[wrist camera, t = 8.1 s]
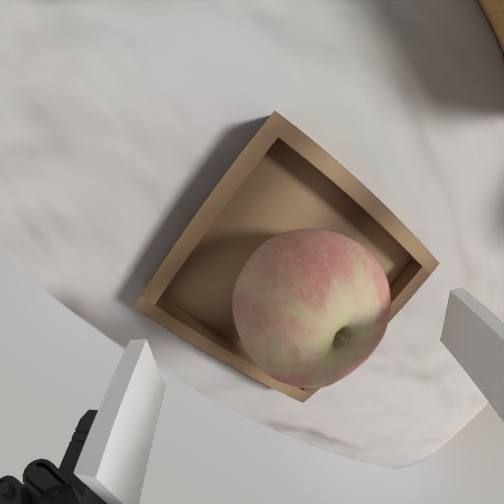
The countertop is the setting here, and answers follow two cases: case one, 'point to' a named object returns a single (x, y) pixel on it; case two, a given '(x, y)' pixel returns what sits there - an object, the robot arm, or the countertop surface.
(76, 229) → the countertop surface
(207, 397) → the countertop surface
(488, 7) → the bread
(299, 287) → the apple
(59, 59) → the countertop surface
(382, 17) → the countertop surface
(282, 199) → the walnut tray
